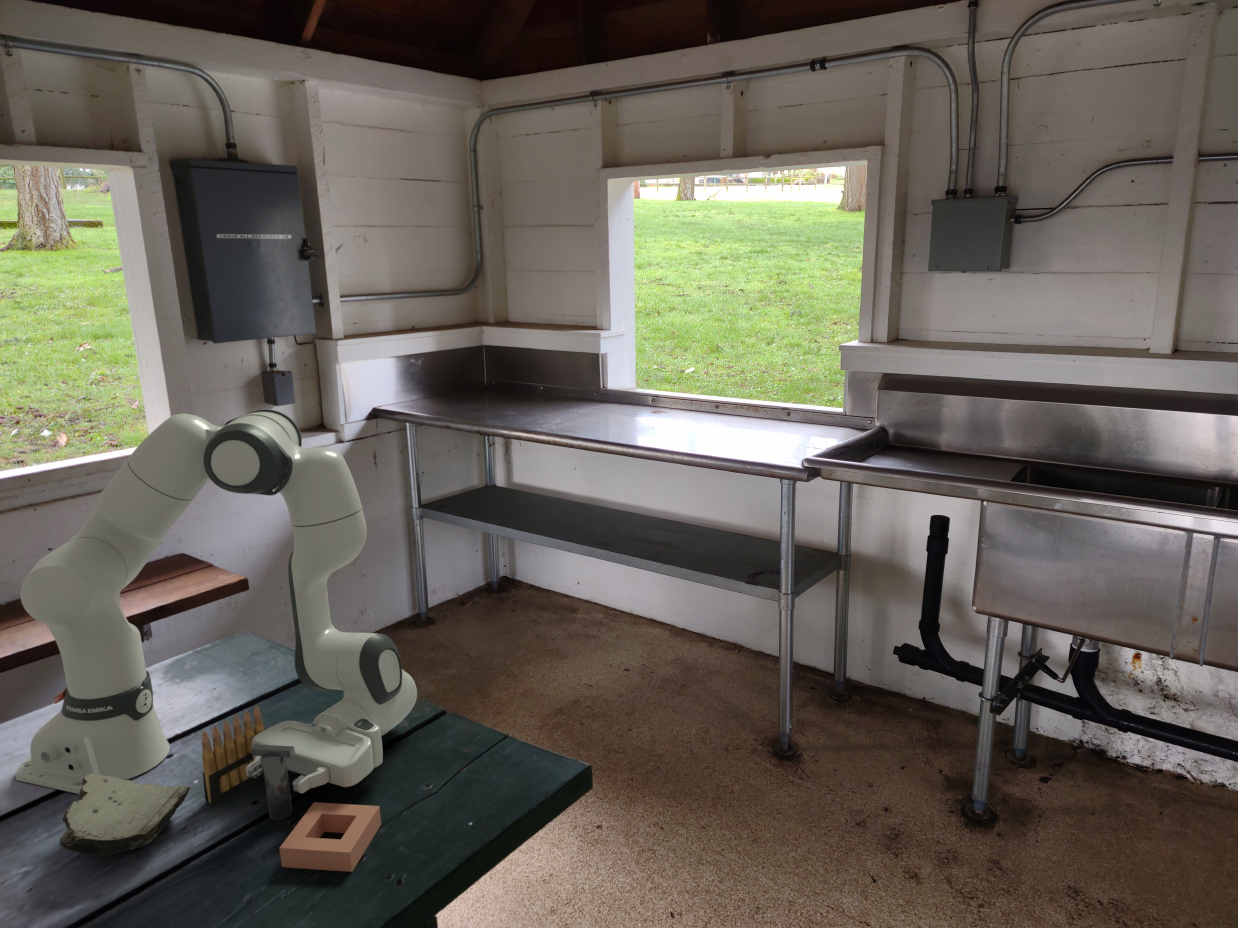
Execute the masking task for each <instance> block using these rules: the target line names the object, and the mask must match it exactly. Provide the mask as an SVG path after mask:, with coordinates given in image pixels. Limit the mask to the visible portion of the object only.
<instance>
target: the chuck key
mask: <svg viewBox="0 0 1238 928" xmlns="http://www.w3.org/2000/svg"><path fill="white" fill-rule="evenodd" d="M251 751H252V756H262V763H263V770H264V777H263V778H264V783H265V791H266V800H267V801H266V802H267V807H268V815H269V819H270V820H271V821H275V822H276V821H283V820H286V819H288V818H289V817H291V815H292V814H293V811H294V810H293V802H292V795H291V788H290V780H289V772H288V771H289V770H287V762H286V758H291V757H292V756H293V755H294V754H295V750H294V746H275V745H255V746H254V747H253V748H252V749H251Z"/></svg>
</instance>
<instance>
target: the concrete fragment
mask: <svg viewBox="0 0 1238 928" xmlns="http://www.w3.org/2000/svg"><path fill="white" fill-rule="evenodd" d="M190 789H191V787H190V786H185V785H179V784H178V785H174V786H164V785H160V784H155V783H143V784H140V783H138V782H135V781H134V780H130V779H127V780H122V779H119V778H116V777H112V776H103V775H101V774H87V775H86V776H84V778H83V783H82V788H81V790H80V792H79V794H78V798H79V799H78V800H75V801H73V802H72V803H71V804H70V806H69V807H68V808H67V809H66V811H65V812H64V814H63V816H62V821H63V823H64V825H65V827H66V830H65V832H64V833H63V834H62V836H61V837H60V839H59V845H60V847H62V848H63V849H66V850H67V851H70V852H74V853H77V854H83V855H90V856H107V855H108V856H109V855H113V854H120V853H123V852H124V853H125V852H128V851H130V850H131V851H132V850H135V849H139V848H141V847H144V846H146V845H147V844H150V843H152V841H153V840H154V839H156V838H157V837H158V836H159V835H160V834H161V833H162V831H163V830H164V829H165V827H166V826H167V824H168V823H169V821H170V820H171V819H172V817H173V816H174V815H175V813H176V811H177V810H178V808H179V807H180V806H181V805H182V804H183V802H184V801H185V799H186V797H187V796H188V793H189V791H190Z"/></svg>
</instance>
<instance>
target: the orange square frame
mask: <svg viewBox="0 0 1238 928" xmlns="http://www.w3.org/2000/svg"><path fill="white" fill-rule="evenodd" d="M380 808H381V807H380V805H367V804H366V805H365V804H364V805H363V804H351V803H349V804H347V803H331V802H318V801H317V802H313V803H312V804H311V806H310V807H309V808H308V810H307V811H306V812H305V814H304V815H303V816H302V817H301V818H300V820H299V821H298V823H297V824H296V825H295V826H294V828H293V830H292V831H291V832H290V834H289V835H288V836H287V837H286V838H285V840H284V841H283V842H282V844H281V845H280V846H279V848H278V849H279V855H280V863H281V867H282V868H291V869H302V870H303V869H305V870H306V869H307V870H319V871H321V870H322V871H336V872H348V873H349V872H350V873H352V872H353V871H354V870H355V868H356V866H357V865H358V863H359V861H360V860H361V859H362V856H363V855H364V853H365V852H366V850H367V848H368V847H369V845H370V843H371V842H372V840H373V838H375V835H377V832H378V830H379V828H380V827H381V825H382V819H381V816H382V815H381V809H380ZM324 833H337V834H343V836H342V837H341V839H337V838H321V837H322V836H323V834H324Z"/></svg>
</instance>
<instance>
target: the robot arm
mask: <svg viewBox="0 0 1238 928" xmlns="http://www.w3.org/2000/svg"><path fill="white" fill-rule="evenodd" d="M302 442H303V440H302V434H301V430H300V429H299V427H298V425H297V423H296V422H295V421H294V419H292V418H291V417H290V416H289V415H287V414H286V413H283V412H281V411H278V410H273V409H259V410H254V411H251V412H248V413H246V414H244V415H241V416H238V417H235V418H232V419H230V420H227V421H226V422H225V423H224V425H223V426H218V425H214V424H212V423H211V422H210V421H208V420H207V419H205V418H204V417H203V418H202V417H200V416H198V415H195V414H192V413H191V414H190V413H177V414H174V415H171V416H170V417H168V418H167V419H165V421H163V422H162V423H160V424H159V425H158V426H157V427H156V428H154V429H153V430H152V431H151V433H149V435H148V436H146V437H145V438H144V439H143V440H142V441H141V443H140V444H138V446H137V447H136V448H135V449H134V450H133V451H132V453H131V455H130V456H129V457H128V458H127V459H126V461H124V463H123V464H122V466H121V467H120V468H119V469H118V470H117V472H116V473H115V474H114V476H113V477H112V478H111V480H110V481H109V483H108V484H107V485H106V486H105V488H104V489H103V490H102V491H101V492H100V494H99V495H98V496H97V500H96V504H95V506H94V508H93V510H92V512H91V513H90V515H89V516H88V518H87V520H86V521H85V523H84V525H82V527H81V528H80V529H79V530H78V532H76V533H75V534H74V535H73V536H72V537H71V538H70V539H69V540H67V541H66V542H65V543H63V544H61V545H60V546H59V547H57V548H56V549H54V550H52V551H51V552H50V553H48V554H46V555H45V556H43V557H41V558H40V559H39V560H38V561H37V562H36V564H34V566H33V567H32V569H31V570H30V571H29V572H28V574H27V575H26V577H25V578H24V580H23V581H22V584H21V587H20V590H19V593H20V595H19V596H20V601H21V604H22V606H23V608H24V610H25V611H26V613H27V614H28V615H29V616H30V617H32V618H33V619H34V620H36V621H37V622H39V623H41V624H44V625H46V627H47V628H48V630H49V631H50V633H51V635H52V637H53V639H54V640H55V643H56V645H57V648H58V650H59V653H60V657H61V661H62V665H63V671H64V675H65V681H66V682H65V683H66V686H67V687H66V688H64V689H63V691H62V692H60V693H59V694H57V695H55V696H54V697H53V698H52V699H53V700H55V701H54V702H53V703H54V704H55V705H56V704H58V703H60V702H62V701H63V703H62V706H61V709H60V710H59V711H58V713H56V714H55V715H54V716H53V717H52V718H50V720H48V721H47V722H46V723H45V724H43V725H42V726H41V728H39V729H38V730H37V731H36V732H35V733H34V735H33V737H32V739H31V741H30V747H29V751H30V755H29V756H28V757H27V758H26V759H25V760H24V761H23V762H22V763H21V764H20V765H19V766H18V768H17V770H16V771H15V780H17V781H19V782H24V783H28V784H32V785H37V786H41V787H45V788H51V789H55V790H60V791H64V792H68V793H73V794H77V795H79V792H80V790H81V788H82V783H83V778H84V776H86V775H87V774H101V775H103V776H112V777H116V778H119V779H122V780H130V779H133V778H135V777H137V776H140V775H142V774H144V773H146V772H148V771H149V770H152V769H153V768H154V767H156V766H158V765H159V764H160V763H161V762H162V761H163V760H164V759H165V758H166V757H167V756H168V754H169V752H170V750H171V745H170V743H169V741H168V739H167V737H166V735H165V733H164V732H163V729H162V726H161V724H160V721H159V719H158V715H157V712H156V710H155V709H156V708H155V706H154V690H153V685H152V678H151V675H150V672H149V671H148V670H147V668H146V661H145V656H144V648H143V642H142V638H141V637H142V636H141V632H140V630H139V629H138V627H137V626H136V625H135V624H132V623H130V622H129V621H128V619H127V617H126V615H125V613H124V611H123V609H122V605H121V602H120V601H121V600H120V595H121V591H123V590H124V588H126V587H127V586H129V584H130V583H132V582H133V581H134V580H135V579H136V577H137V576H138V575H139V574H140V572H141V571H142V570H143V568H144V567H145V565H146V564H147V563H148V561H149V560H150V558H152V556H153V554H154V553H155V551H156V550H157V548H158V547H159V545H160V543H161V541H162V540H163V538H164V537H165V536H166V534H167V533H168V532H169V530H170V529H171V528H172V527H173V526H174V524H175V523H176V522H177V520H178V519H179V518H180V517H181V516H182V514H183V513H184V512H185V510H186V509H187V507H189V505H190V504H191V502H192V501H194V499H195V498H196V496H197V495H198V494H199V493H200V491H201V490H202V488H204V486H205V484H206V483H208V482H209V480H210V481H211V482H212V483H213V484H214V485H216V486H217V487H219V488H220V489H221V490H222V489H223V490H224V491H226V492H230V493H234V494H242V495H243V494H247V495H262V496H270V497H272V496H276V495H277V494H280V495H281V496H282V497H283V500H284V501H285V504H286V508H287V510H288V515H289V518H290V522H291V523H290V524H291V527H292V532H293V538H294V540H293V542H294V543H293V545H294V546H293V550H292V552H291V553H290V555H289V558H288V566H287V567H288V569H287V570H288V571H287V572H288V575H287V576H288V586H289V595H290V602H291V608H292V618H293V625H294V626H293V627H294V634H295V635H294V636H295V637H294V638H295V648H294V669H295V673H296V675H297V677H298V679H299V681H300V683H301V684H302V685H303V686H304V687H306V688H307V689H309V690H312V691H331V690H332V691H333V690H335V691H336V690H337V691H343V698H342V699H341V700H339V701H338V702H337V703H335V704H334V705H331V707H329V708H327V709H325V710H324V711H323V712H321V713H319V714H317V716H316V717H314V719H313V722H312V723H311V724H308V723H304V722H303V721H296V720H285V721H282V722H279V723H277V724H274V725H273V726H271V727H270V726H269V727H268V728H266V729H265V730H264V731H262V732H261V733H259V734H257V735H255V736H254V737H253V739H252V741H251V748H253V747H254V746H255V745H275V746H294V750H295V754H294V755H293V756H292V757H291V758H286V762H287V770H288V771H290V772H293V773H297V774H300V776H298V777H297V778H295V779H294V780H293V782H292V787H293V788H292V789H293V791H294V792H296V793H299V794H304V793H306V792H307V791H309V790H310V789H313V788H317V787H320V786H323V785H326V784H327V783H329V784H333V785H336V786H339V787H343V788H347V787H348V788H349V787H352V786H355V785H357V784H358V783H359V782H361V781H362V780H363V779H364V778H366V777H367V776H368V775H369V774H370V773H372V771H373V770H374V768H377V767H379V766H380V765H382V763H383V758H384V756H383V754H384V753H383V752H384V751H383V740H382V736H384V735H386V734H387V733H389V732H390V731H391V730H393V729H394V728H395V727H396V726H398V725H399V724H400V723H401V722H402V721H403V720H404V719H406V717H407V716H408V715H409V714H410V712H412V709H413V707H414V706H415V704H416V702H417V699H418V689H417V686H416V683H415V680H414V679H413V677H412V676H411V675H410V674H409V673H408V672H406V671H405V670H404V669H403V667H402V662H401V657H400V653H399V651H398V648H397V645H396V644H395V642H394V641H393V640H392V639H391V637H389V636H388V635H386V634H384V633H375V632H348V631H340V630H339V629H337V628H336V627H335V626H334V625H333V623H332V621H331V614H330V613H331V611H330V604H329V603H330V602H329V594H328V581H329V578H330V576H331V574H332V573H334V572H336V571H338V570H340V569H341V568H343V567H345V566H346V565H347V566H348V564H350V563H351V562H353V561H354V560H355V559H356V558H357V557H358V556H359V555H360V554H361V552H362V550H363V549H364V547H365V544H366V543H367V539H368V534H367V533H368V531H367V530H368V529H367V528H368V527H367V521H366V518H365V514H364V509H363V505H362V502H361V498H360V495H359V491H358V489H357V485H356V483H355V479H354V478H353V475H352V472H351V470H350V468H349V466H348V464H347V462H346V459H345V458H344V456H343V455H342V454H341V453H340V452H339V451H337V450H335V449H333V448H330V447H324V446H323V447H322V446H315V447H314V446H313V447H309V448H307V447H302ZM253 758H254V759H255V760H254V761H253V762H252V763H250V764H249V765H247V766H246V769H245V770H246V775H247V776H248V777H252V778H257V776H260V775H261V774H262V773H263V771H262V767H263V763H262V756H253Z"/></svg>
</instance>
